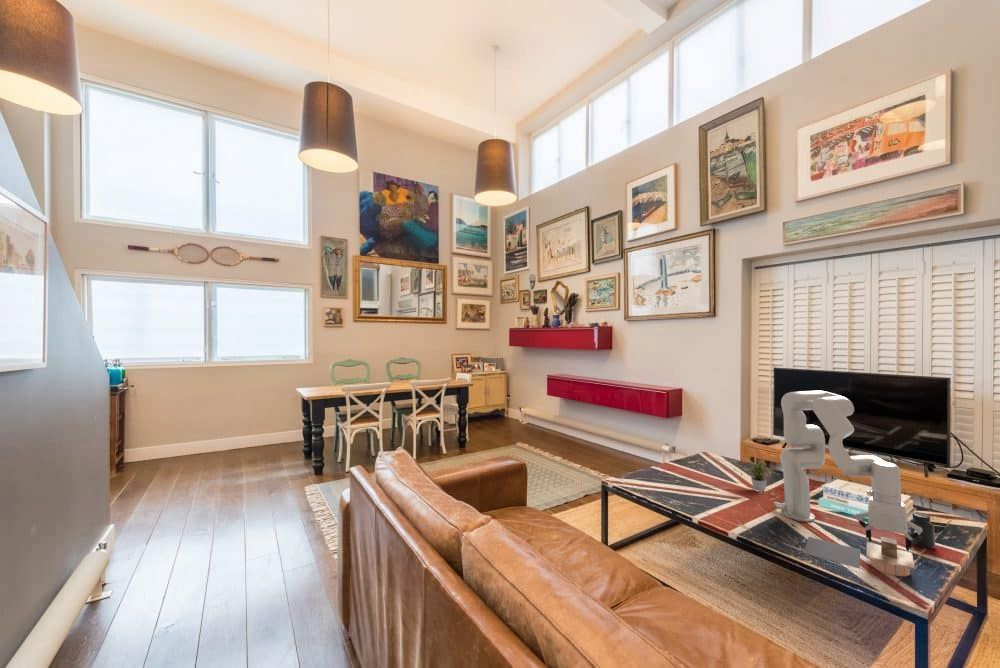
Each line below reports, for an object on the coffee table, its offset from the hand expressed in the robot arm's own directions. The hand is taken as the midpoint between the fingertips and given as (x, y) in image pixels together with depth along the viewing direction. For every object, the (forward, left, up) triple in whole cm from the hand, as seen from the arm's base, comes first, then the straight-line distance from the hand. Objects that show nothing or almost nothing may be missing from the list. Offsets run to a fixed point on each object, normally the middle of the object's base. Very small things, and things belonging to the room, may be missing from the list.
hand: (888, 544), depth 143 cm
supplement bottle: (+10, +30, -9) cm, 33 cm away
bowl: (0, 0, -9) cm, 9 cm away
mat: (-16, +1, -9) cm, 18 cm away
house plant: (-50, +56, -9) cm, 75 cm away
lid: (0, 0, -4) cm, 4 cm away
